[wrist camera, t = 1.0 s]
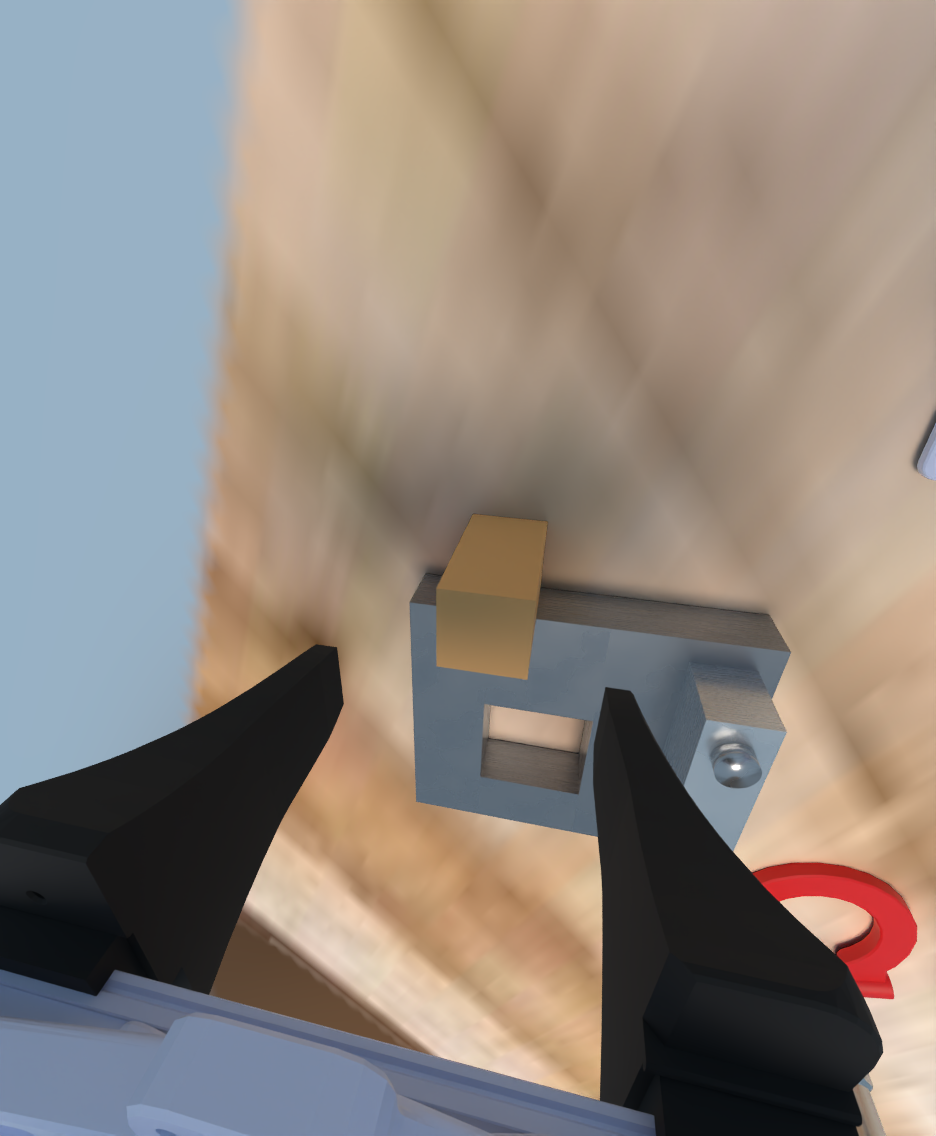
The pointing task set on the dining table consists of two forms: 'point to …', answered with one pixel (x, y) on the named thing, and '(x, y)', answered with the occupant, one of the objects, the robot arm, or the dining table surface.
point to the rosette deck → (576, 688)
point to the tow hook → (866, 957)
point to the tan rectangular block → (491, 597)
